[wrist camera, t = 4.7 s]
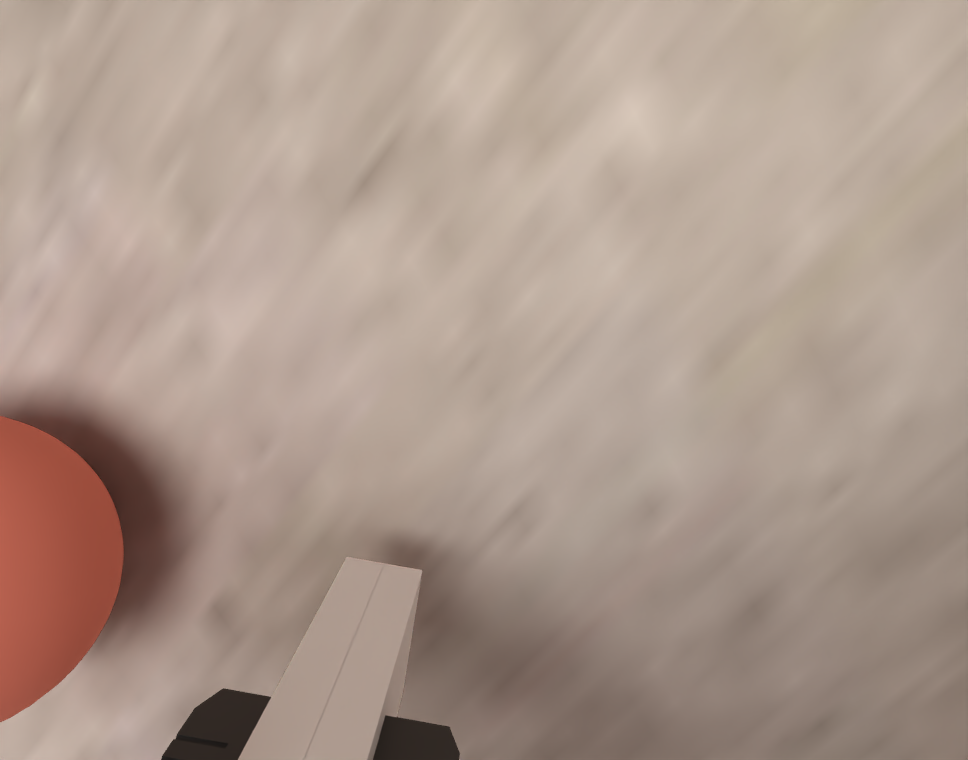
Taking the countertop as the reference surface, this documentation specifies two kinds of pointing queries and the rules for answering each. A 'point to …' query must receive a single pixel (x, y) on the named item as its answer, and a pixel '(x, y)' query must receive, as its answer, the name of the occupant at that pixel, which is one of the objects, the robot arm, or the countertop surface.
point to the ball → (50, 562)
